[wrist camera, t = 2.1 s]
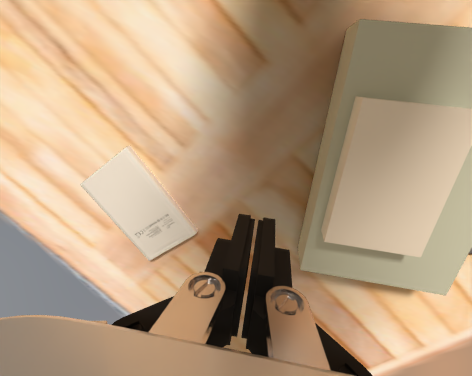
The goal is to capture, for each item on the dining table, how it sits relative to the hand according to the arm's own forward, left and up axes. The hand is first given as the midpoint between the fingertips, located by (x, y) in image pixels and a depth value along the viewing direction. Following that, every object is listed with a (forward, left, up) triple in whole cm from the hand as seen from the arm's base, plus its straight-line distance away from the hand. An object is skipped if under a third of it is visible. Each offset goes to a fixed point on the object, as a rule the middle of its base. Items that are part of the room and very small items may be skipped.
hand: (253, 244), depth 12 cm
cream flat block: (0, +10, -12) cm, 16 cm away
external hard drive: (+8, -14, -17) cm, 24 cm away
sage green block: (0, +12, -16) cm, 20 cm away
